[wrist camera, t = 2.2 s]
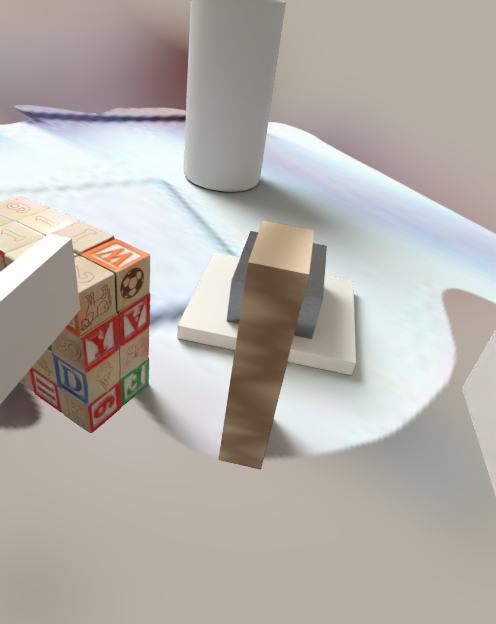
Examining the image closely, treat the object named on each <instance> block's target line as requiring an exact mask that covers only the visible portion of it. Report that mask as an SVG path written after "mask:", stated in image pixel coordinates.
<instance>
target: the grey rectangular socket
mask: <svg viewBox="0 0 496 624" xmlns="http://www.w3.org/2000/svg"><path fill="white" fill-rule="evenodd" d="M257 235H258V232H253V231H250V234H249V237H248V239H247V242H246V244H245V247H244V249H243V252H242V255H241V257H240V260H239V262H238V265H237V268H236V270H235V273H234V275H233V278H232V280H231V288H230V296H229V304H228V312H227V320H226V321H227V322H232V323H237V324H239V320H240V313H241V306H242V300H243V293H244V286H245V279H246V273H247V266H248V261H249V258H250V255H251V252H252V250H253V247H254V244H255V241H256V238H257ZM326 248H327V246H325V245H319V244H314V243H313V246H312V254H311V262H310V271H309V277H308V281H307V285H306V289H305V293H304V297H303V301H302V305H301V309H300V313H299V317H298V321H297V325H296V329H295V333H294V336H298V337H303V338H308V339H312V337H313V334H314V330H315V327H316V323H317V319H318V316H319V312H320V309H321V305H322V302H323V294H324V278H325V263H326Z"/></svg>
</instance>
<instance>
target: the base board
mask: <svg viewBox="0 0 496 624" xmlns="http://www.w3.org/2000/svg"><path fill="white" fill-rule="evenodd" d="M239 260H240V257H235V256H230V255H225V254H220V253H215V252H214V254H213V256H212V258H211V260H210V262H209V264H208V266H207V268H206V270H205V272H204V274H203V276H202V278H201V280H200V282H199V284H198V286H197V288H196V290H195V292H194V294H193V296H192V298H191V300H190V302H189V304H188V306H187V308H186V310H185V312H184V314H183V316H182V318H181V320H180V322H179V324H178V334H177V338H179V339H184V340H188V341H193V342H198V343H202V344H207V345H212V346H216V347H221V348H226V349H230V350H235V347H236V340H237V333H238V326H239V324H237V323H232V322H227V321H226V320H227V312H228V304H229V296H230V288H231V280H232V278H233V275H234V273H235V270H236V268H237V265H238V262H239ZM288 362H291V363H296V364H300V365H305V366H310V367H314V368H319V369H324V370H328V371H333V372H338V373H342V374H347V375H352V373H353V370H354V367H355V365H356V348H355V319H354V290H353V280H350V279H345V278H340V277H335V276H330V275H325V278H324V294H323V302H322V305H321V309H320V312H319V316H318V319H317V323H316V327H315V330H314V334H313V337H312V339H308V338H303V337H298V336H294V337H293V341H292V345H291V349H290V353H289V357H288Z"/></svg>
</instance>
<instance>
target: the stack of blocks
mask: <svg viewBox="0 0 496 624" xmlns="http://www.w3.org/2000/svg"><path fill="white" fill-rule="evenodd" d="M47 234H53V235H58V236H64V237H69V238H72V244H73V252H74V260H75V269H76V277H77V285H78V293H79V302H80V311H79V312H78V313H77V314H76V315H75V316H74V318H73V319H72V320H71V321H70V322H69V324H68V325H67V326H66V327H65V328H64V330H63V331H62V332H61V333H60V334H59V335H58V337H57V338H56V339H55V340H54V341H53V343H52V344H51V345H50V346H49V347H48V349H47V350H46V351H45V352H44V353H43V354H42V356H41V357H40V358H39V359H38V360H37V362H36V363H35V364H34V365H33V366H32V368H31V369H30V370H29V371H28V372H27V374H26V375H25V376H24V377H23V378H22V379H21V381H20V383H22V384H23V385H25V386H26V387H27V388H29V389H30V390H32V391H33V392H34V393H35V394H36V395H37V396H38V397H40V398H41V399H42V400H44V401H45V402H47V403H48V404H50V405H51V406H53V407H54V408H55V409H57V410H58V411H60V412H62V413H63V414H64V415H65V416H66V417H68V418H69V419H70V420H72V421H73V422H75V423H76V424H78V425H79V426H80V427H82V428H83V429H85V430H86V431H88V432H89V433H92V432H94V431H95V430H96V429H97V428H99V427H100V426H101V425H102V424H104V423H105V422H106V420H108V419H109V418H110V417H112V416H113V415H114V414H115V413H116V412H117V411H119V410H120V409H121V407H122V406H123V405H125V404H126V403H127V402H129V401H130V400H131V399H132V398H133V397H134V396H135V395H136V394H137V393H138V392H140V391H141V390H142V389H143V388H144V387H146V386H147V385H148V384H149V357H148V353H149V325H150V293H149V284H150V254H148V253H146V252H144V251H141V250H139V249H137V248H135V247H133V246H131V245H129V244H127V243H124V242H122V241H120V240H118V239H115V238H114V236H113V235H112V234H110V233H108V232H106V231H103V230H101V229H99V228H97V227H95V226H92V225H90V224H88V223H85V222H81V221H80V220H78V219H76V218H73V217H71V216H69V215H67V214H64V213H62V212H59V211H57V210H55V209H50V208H49V207H47V206H45V205H43V204H41V203H38V202H36V201H34V200H32V199H29V198H27V197H25V196H22V195H21V196H17V197H14V198H11V199H8V200H5V201H2V202H0V272H1V271H2V270H4V269H5V268H6V267H7V266H9V265H10V264H11V263H12V262H14V261H15V260H16V259H17V258H19V257H20V256H21V255H22V254H24V253H25V252H26V251H27V250H29V249H30V248H31V247H32V246H34V245H35V244H36V243H37V242H39V241H40V240H41V239H42V238H44V237H45V236H46V235H47Z"/></svg>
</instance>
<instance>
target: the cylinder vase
mask: <svg viewBox="0 0 496 624" xmlns="http://www.w3.org/2000/svg"><path fill="white" fill-rule="evenodd" d="M285 5H286V2H285V1H281V0H191V13H190V36H189V58H188V59H189V60H188V82H187V105H186V128H185V151H184V174H185V176H186V177H187V178H188V179H189V180H190V181H191V182H193V183H194V184H196V185H198V186H201V187H204V188H207V189H211V190H216V191H224V192H238V191H244V190H248V189H251V188H253V187H255V186H256V185H257V184H258V182H259V180H260V174H261V168H262V161H263V154H264V147H265V140H266V134H267V127H268V120H269V113H270V107H271V100H272V93H273V86H274V79H275V72H276V66H277V59H278V52H279V45H280V39H281V32H282V25H283V18H284V12H285Z"/></svg>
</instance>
